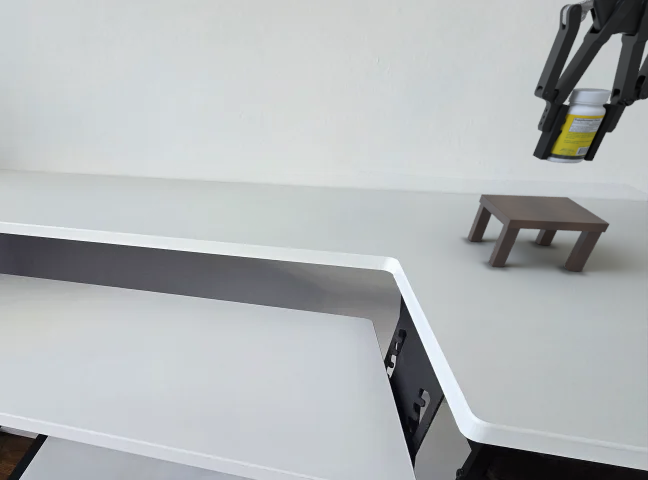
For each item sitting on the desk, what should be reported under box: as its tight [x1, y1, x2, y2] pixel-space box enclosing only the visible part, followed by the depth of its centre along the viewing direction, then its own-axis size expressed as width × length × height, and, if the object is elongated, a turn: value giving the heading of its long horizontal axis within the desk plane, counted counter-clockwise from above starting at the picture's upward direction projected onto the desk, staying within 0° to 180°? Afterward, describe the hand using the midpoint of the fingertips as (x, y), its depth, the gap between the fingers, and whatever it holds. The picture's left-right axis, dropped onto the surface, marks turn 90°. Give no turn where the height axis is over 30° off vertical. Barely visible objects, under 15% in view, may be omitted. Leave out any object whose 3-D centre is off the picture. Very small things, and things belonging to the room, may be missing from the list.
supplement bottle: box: [546, 87, 612, 164], centre depth 65 cm, size 5×5×8 cm
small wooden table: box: [467, 193, 610, 272], centre depth 73 cm, size 12×12×7 cm
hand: (561, 157), depth 67 cm, fingers closed on supplement bottle, 5 cm apart
